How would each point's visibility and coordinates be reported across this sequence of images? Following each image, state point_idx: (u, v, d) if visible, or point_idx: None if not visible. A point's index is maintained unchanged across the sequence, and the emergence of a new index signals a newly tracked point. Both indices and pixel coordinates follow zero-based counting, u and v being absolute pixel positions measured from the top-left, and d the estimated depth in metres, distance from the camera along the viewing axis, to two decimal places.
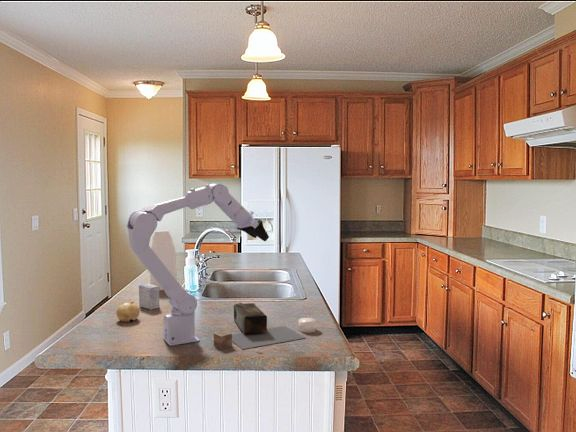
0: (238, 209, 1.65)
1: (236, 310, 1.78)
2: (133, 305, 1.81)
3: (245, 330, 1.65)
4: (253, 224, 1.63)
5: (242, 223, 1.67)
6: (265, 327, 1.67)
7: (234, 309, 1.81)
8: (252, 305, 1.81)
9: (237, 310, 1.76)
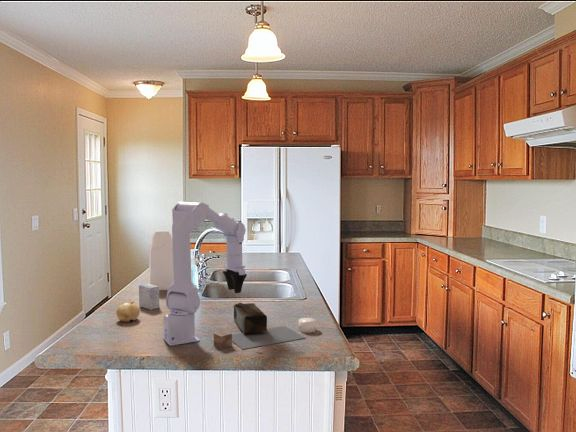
0: (241, 253, 1.83)
1: (236, 310, 1.78)
2: (133, 305, 1.81)
3: (245, 330, 1.65)
4: (241, 271, 1.78)
5: (232, 266, 1.82)
6: (265, 327, 1.67)
7: (234, 309, 1.81)
8: (252, 305, 1.81)
9: (237, 310, 1.76)
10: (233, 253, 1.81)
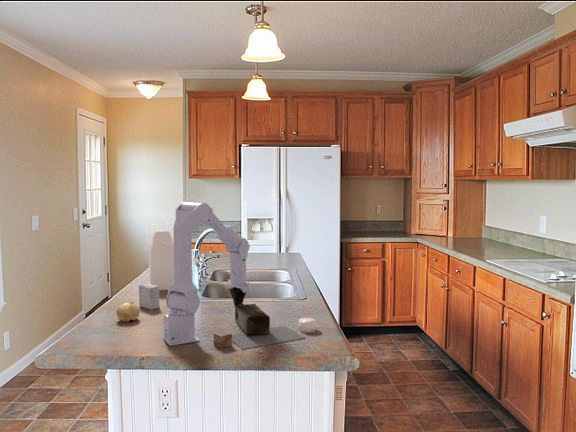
0: (244, 269, 1.81)
1: (238, 311, 1.77)
2: (133, 305, 1.81)
3: (248, 331, 1.64)
4: (245, 288, 1.76)
5: (236, 283, 1.79)
6: (268, 328, 1.66)
7: (235, 310, 1.80)
8: (254, 306, 1.80)
9: (239, 311, 1.75)
10: (236, 270, 1.79)
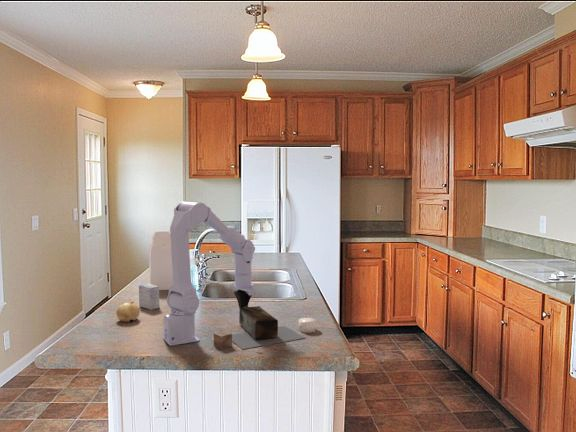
0: (249, 272, 1.76)
1: (243, 314, 1.73)
2: (133, 305, 1.81)
3: (256, 335, 1.60)
4: (250, 291, 1.72)
5: (241, 285, 1.76)
6: (276, 331, 1.63)
7: (240, 313, 1.76)
8: (259, 308, 1.76)
9: (245, 314, 1.71)
10: (240, 272, 1.75)
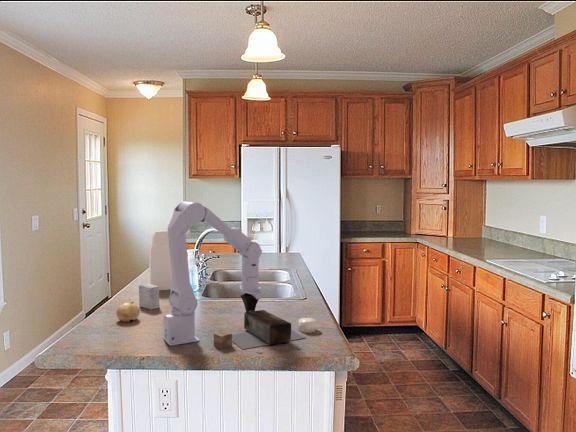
0: (255, 275, 1.71)
1: (250, 318, 1.68)
2: (133, 305, 1.81)
3: (270, 340, 1.56)
4: (258, 294, 1.67)
5: (248, 289, 1.71)
6: (289, 335, 1.59)
7: (245, 317, 1.71)
8: (264, 312, 1.72)
9: (253, 318, 1.65)
10: (245, 275, 1.70)
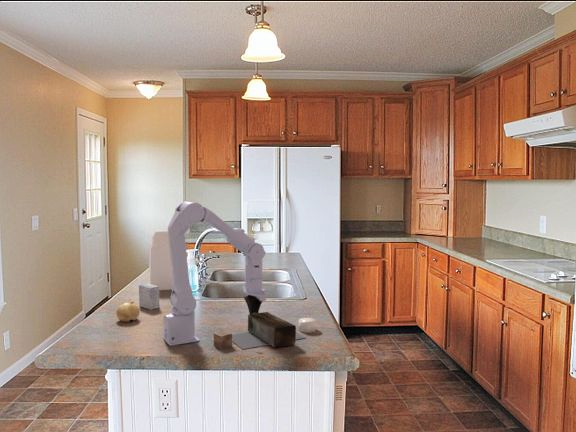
0: (258, 277, 1.68)
1: (254, 321, 1.65)
2: (133, 305, 1.81)
3: (275, 342, 1.54)
4: (262, 296, 1.64)
5: (252, 290, 1.68)
6: (294, 338, 1.57)
7: (249, 320, 1.68)
8: (268, 314, 1.69)
9: (257, 321, 1.63)
10: (248, 276, 1.68)
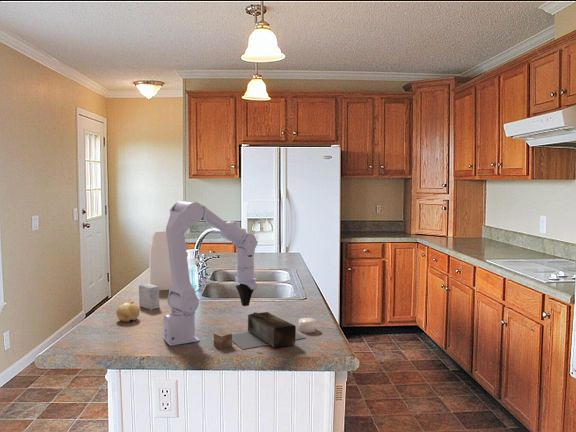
0: (251, 266, 1.74)
1: (254, 321, 1.65)
2: (133, 305, 1.81)
3: (275, 342, 1.54)
4: (253, 285, 1.70)
5: (243, 279, 1.74)
6: (294, 338, 1.57)
7: (249, 320, 1.68)
8: (268, 314, 1.69)
9: (257, 321, 1.63)
10: (242, 266, 1.73)
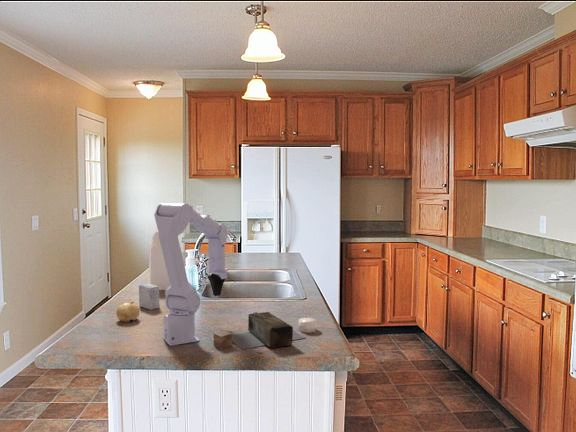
0: (224, 255, 1.77)
1: (253, 320, 1.66)
2: (133, 305, 1.81)
3: (271, 343, 1.53)
4: (223, 274, 1.72)
5: (214, 269, 1.75)
6: (291, 338, 1.56)
7: (249, 319, 1.69)
8: (269, 314, 1.69)
9: (256, 321, 1.63)
10: (216, 256, 1.75)
